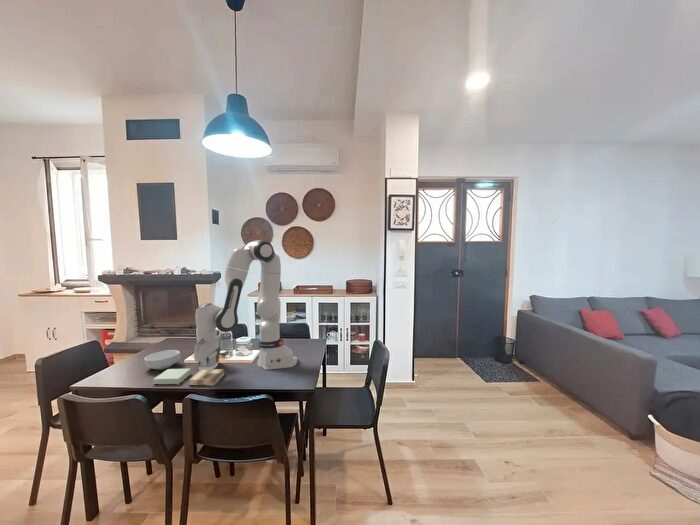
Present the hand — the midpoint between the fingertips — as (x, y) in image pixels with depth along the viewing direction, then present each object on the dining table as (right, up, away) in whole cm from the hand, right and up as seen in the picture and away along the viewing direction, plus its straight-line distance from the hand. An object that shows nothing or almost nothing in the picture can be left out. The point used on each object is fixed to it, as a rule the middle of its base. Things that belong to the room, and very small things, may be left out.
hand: (208, 362), depth 145 cm
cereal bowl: (-34, -9, +17) cm, 39 cm away
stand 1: (-19, -9, +1) cm, 20 cm away
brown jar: (-9, -8, +19) cm, 23 cm away
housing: (0, -2, 0) cm, 2 cm away
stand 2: (0, -9, 0) cm, 9 cm away
